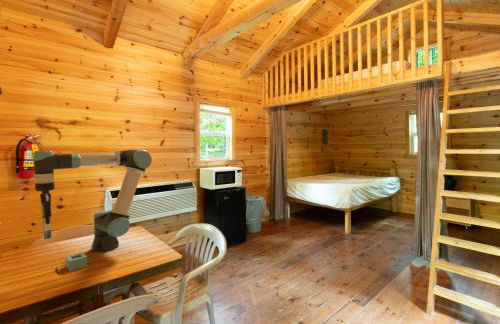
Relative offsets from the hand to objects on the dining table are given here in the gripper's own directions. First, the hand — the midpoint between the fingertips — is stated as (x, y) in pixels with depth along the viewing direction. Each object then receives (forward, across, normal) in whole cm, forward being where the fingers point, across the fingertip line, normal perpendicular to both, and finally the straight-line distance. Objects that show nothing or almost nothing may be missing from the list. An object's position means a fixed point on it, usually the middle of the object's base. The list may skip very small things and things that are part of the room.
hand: (47, 229), depth 130 cm
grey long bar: (+4, 0, 0) cm, 4 cm away
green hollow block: (+22, 0, +11) cm, 25 cm away
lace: (+22, 0, +3) cm, 23 cm away
